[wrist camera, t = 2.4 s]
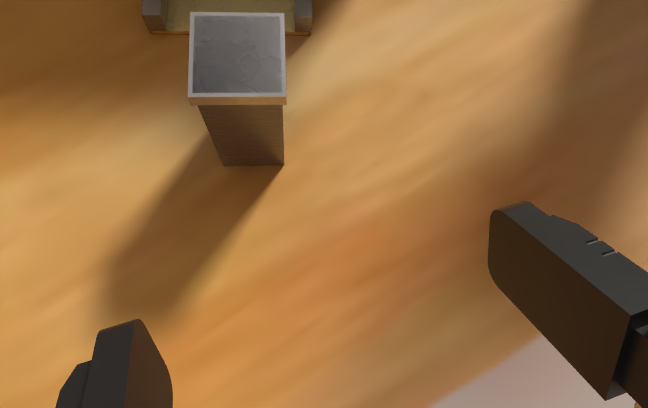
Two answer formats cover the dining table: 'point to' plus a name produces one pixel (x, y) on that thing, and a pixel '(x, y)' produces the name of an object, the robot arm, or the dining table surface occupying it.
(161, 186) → the dining table surface
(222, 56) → the bar
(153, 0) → the keeper
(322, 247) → the dining table surface
